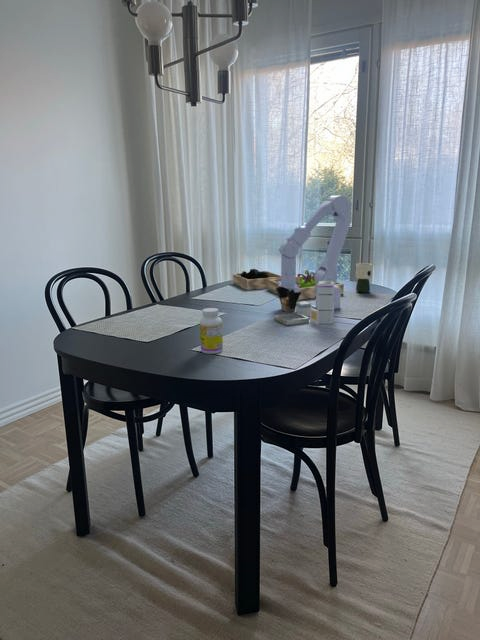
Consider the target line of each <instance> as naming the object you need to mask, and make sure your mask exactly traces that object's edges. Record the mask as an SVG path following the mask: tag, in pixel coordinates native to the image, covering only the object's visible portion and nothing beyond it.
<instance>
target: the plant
mask: <svg viewBox="0 0 480 640" xmlns="http://www.w3.org/2000/svg"><path fill="white" fill-rule="evenodd" d="M304 274H305V275H304ZM304 274H303V273H297V275H296V277H301V276H303V277H304V278H305V280H306V281H305V280H303V279H302V282H301V281H299V280H297V281H298V282H299V284H296V285H297V286H298V287H300V288H306V287H315V286H316V282H317V281H314V282H313V283H312V279H311V275H313V276H314V274H315V272H313V271H312V272H310V271H309V269H307V270H305V271H304ZM306 276H307V277H306Z"/></svg>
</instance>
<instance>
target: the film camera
mask: <svg viewBox="0 0 480 640" xmlns="http://www.w3.org/2000/svg"><path fill="white" fill-rule="evenodd" d="M262 271H263V272H261V271H259V270H258V269H256V268H251V269H250V270H249V271H248V272H247V271H244V270H243V271H242V272H240V273H241V277H243V278H246V279H248V280H250V279H261V278H269V277H270V276H269V275H268V274H267V273H266V272H264V271H265V270H262Z"/></svg>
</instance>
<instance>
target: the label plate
mask: <svg viewBox="0 0 480 640" xmlns="http://www.w3.org/2000/svg"><path fill="white" fill-rule="evenodd" d="M309 323H312V324H314V325H316V326H319V325H320V323H319V311H318V309H316V308H314V307H311V310H310V316H309Z"/></svg>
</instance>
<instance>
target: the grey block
mask: <svg viewBox="0 0 480 640" xmlns="http://www.w3.org/2000/svg"><path fill="white" fill-rule="evenodd" d="M311 305H312V303H311V302H309V301H306V300H304V301H297V302H296V308H295V312H297V313H300V314H302V315H304V316H306V317H310V310H311V308H312V307H311Z"/></svg>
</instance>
